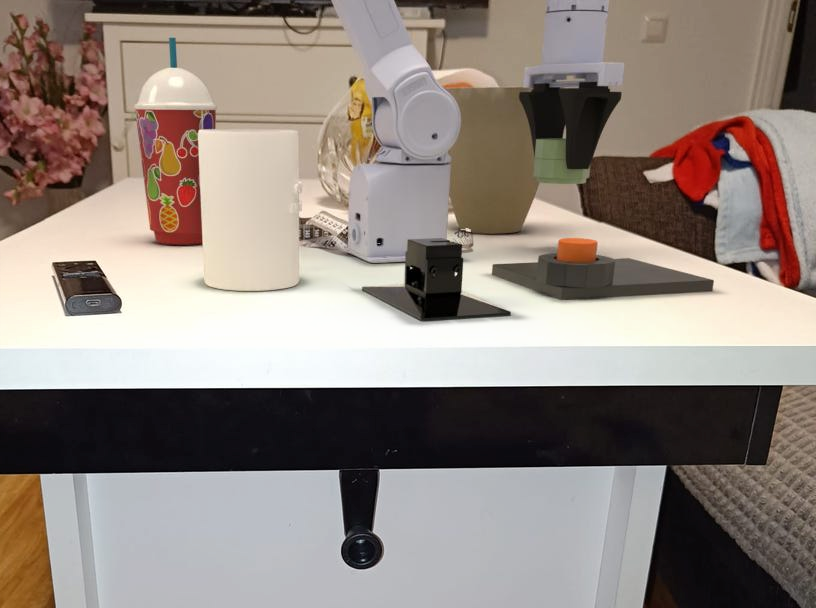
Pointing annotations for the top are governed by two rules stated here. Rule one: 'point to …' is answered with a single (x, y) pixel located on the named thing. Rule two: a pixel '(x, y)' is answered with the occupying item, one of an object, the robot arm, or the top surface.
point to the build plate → (434, 285)
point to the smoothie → (173, 150)
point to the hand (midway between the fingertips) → (561, 167)
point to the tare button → (577, 250)
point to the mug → (250, 208)
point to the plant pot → (492, 160)
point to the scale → (599, 278)
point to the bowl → (555, 163)
